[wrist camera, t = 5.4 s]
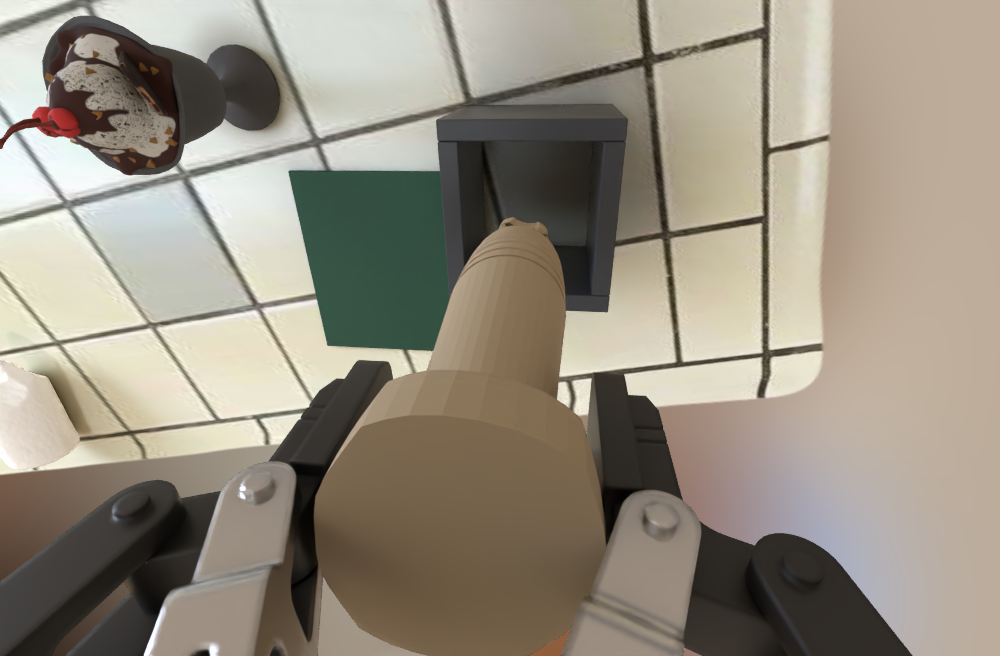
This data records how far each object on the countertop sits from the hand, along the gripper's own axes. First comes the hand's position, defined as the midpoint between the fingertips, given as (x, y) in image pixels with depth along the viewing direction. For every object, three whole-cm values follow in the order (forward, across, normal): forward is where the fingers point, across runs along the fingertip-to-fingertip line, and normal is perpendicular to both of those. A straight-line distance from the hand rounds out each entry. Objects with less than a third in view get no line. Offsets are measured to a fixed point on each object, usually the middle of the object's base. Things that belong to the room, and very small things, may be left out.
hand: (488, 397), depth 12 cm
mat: (+23, +11, +6) cm, 26 cm away
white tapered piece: (+23, +47, +19) cm, 56 cm away
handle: (+11, 0, 0) cm, 11 cm away
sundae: (+23, +19, -6) cm, 30 cm away
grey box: (+23, 0, 0) cm, 23 cm away
